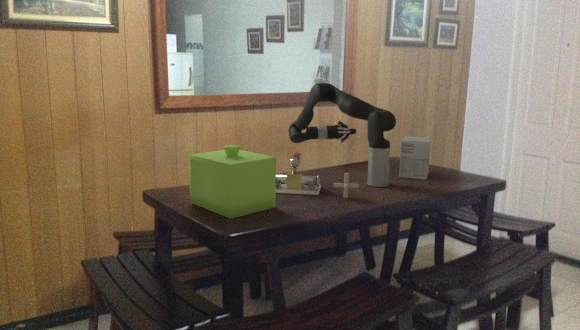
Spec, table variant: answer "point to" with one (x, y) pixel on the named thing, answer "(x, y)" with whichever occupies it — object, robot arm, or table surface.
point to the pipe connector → (346, 185)
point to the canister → (232, 181)
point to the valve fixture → (297, 183)
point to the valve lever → (295, 160)
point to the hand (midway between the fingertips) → (355, 131)
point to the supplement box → (414, 157)
